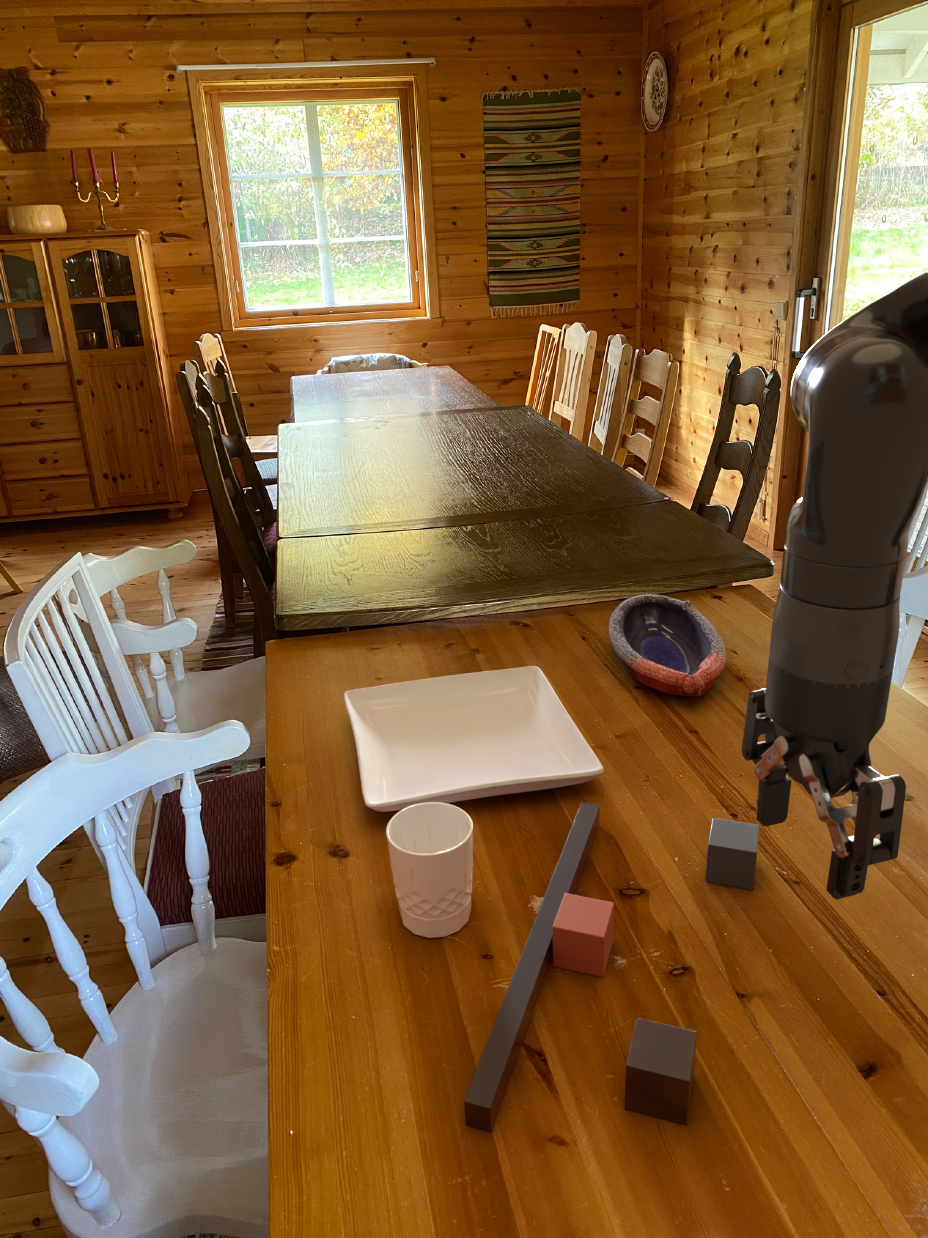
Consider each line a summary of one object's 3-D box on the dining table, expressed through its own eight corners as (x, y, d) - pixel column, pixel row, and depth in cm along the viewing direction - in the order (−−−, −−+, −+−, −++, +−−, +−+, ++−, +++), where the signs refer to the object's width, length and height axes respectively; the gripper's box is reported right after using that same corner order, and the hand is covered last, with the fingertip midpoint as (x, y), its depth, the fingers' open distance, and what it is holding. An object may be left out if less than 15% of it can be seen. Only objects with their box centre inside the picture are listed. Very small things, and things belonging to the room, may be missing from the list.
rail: (599, 824, 99) (599, 804, 98) (491, 1132, 66) (490, 1108, 65) (581, 821, 99) (581, 801, 98) (465, 1125, 67) (463, 1101, 66)
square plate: (368, 834, 99) (364, 805, 97) (345, 713, 123) (342, 687, 122) (606, 795, 103) (607, 766, 102) (538, 685, 128) (538, 660, 126)
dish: (695, 616, 147) (697, 587, 145) (744, 711, 119) (748, 677, 117) (598, 619, 148) (599, 590, 146) (625, 714, 120) (626, 680, 118)
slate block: (755, 861, 92) (759, 824, 90) (753, 890, 88) (757, 852, 86) (709, 853, 93) (712, 817, 92) (705, 882, 89) (708, 844, 88)
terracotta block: (613, 941, 83) (614, 902, 81) (603, 978, 79) (604, 937, 77) (564, 931, 84) (564, 892, 82) (552, 966, 80) (552, 926, 79)
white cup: (428, 875, 92) (421, 792, 88) (493, 904, 88) (489, 818, 84) (377, 922, 86) (368, 836, 82) (444, 956, 82) (438, 866, 78)
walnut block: (693, 1074, 70) (697, 1031, 68) (686, 1126, 66) (689, 1081, 64) (634, 1060, 71) (636, 1017, 69) (624, 1109, 67) (625, 1065, 66)
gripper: (962, 692, 54) (919, 909, 60) (814, 604, 66) (792, 791, 73) (851, 714, 52) (820, 936, 58) (721, 620, 65) (707, 810, 71)
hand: (804, 855), depth 66 cm, fingers open, 8 cm apart
